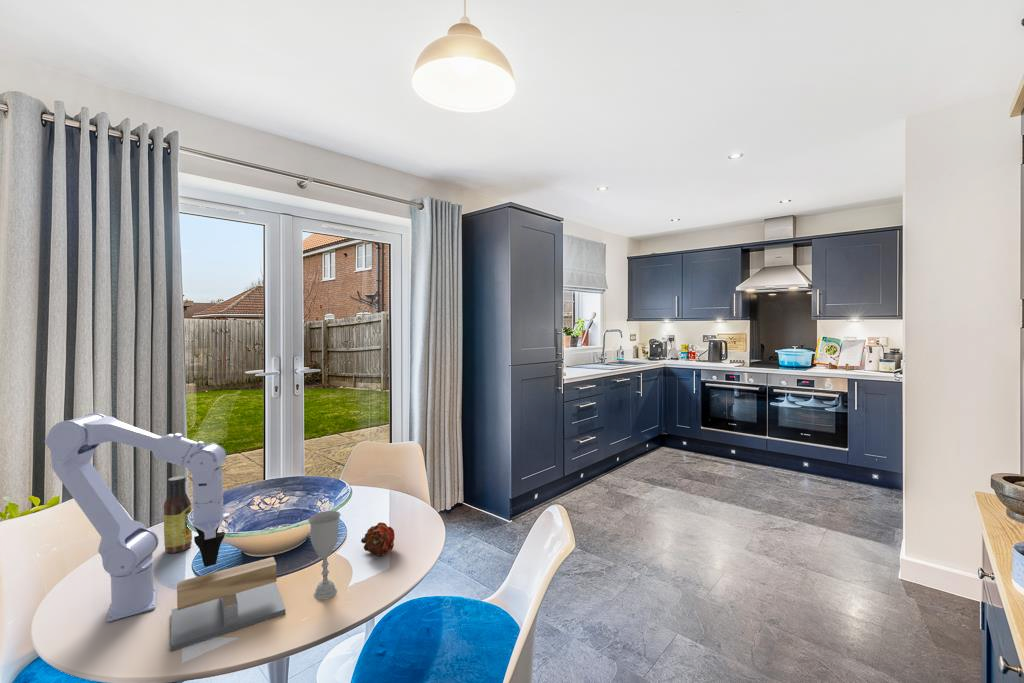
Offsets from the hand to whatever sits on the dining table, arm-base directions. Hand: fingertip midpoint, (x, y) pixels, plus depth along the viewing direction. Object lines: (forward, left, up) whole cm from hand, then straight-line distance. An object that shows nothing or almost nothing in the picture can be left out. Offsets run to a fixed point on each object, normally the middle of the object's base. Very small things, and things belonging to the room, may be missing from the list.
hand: (209, 558), depth 105 cm
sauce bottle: (-33, -6, -10) cm, 35 cm away
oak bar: (+9, +3, -4) cm, 10 cm away
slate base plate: (+9, +3, -9) cm, 13 cm away
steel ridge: (+9, +3, -9) cm, 13 cm away
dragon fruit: (+1, +39, -10) cm, 40 cm away
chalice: (+13, +22, -10) cm, 27 cm away
